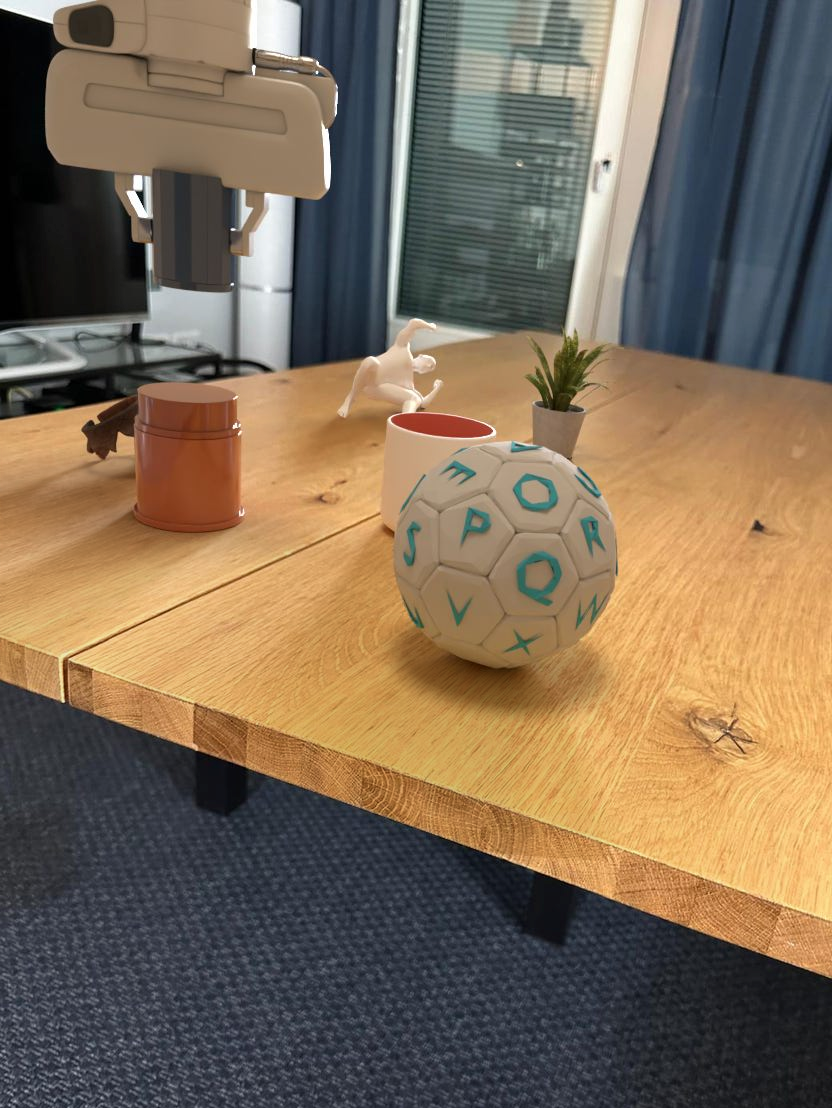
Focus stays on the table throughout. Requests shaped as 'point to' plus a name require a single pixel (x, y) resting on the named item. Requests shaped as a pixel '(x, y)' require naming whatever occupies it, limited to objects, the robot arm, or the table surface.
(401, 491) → the cup
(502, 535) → the puzzle ball
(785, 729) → the table surface
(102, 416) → the dark brown jagged part
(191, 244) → the slate cup
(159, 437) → the orange stepped cylinder
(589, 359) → the house plant
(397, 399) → the person figurine
